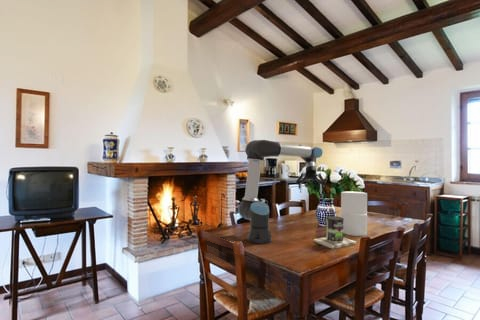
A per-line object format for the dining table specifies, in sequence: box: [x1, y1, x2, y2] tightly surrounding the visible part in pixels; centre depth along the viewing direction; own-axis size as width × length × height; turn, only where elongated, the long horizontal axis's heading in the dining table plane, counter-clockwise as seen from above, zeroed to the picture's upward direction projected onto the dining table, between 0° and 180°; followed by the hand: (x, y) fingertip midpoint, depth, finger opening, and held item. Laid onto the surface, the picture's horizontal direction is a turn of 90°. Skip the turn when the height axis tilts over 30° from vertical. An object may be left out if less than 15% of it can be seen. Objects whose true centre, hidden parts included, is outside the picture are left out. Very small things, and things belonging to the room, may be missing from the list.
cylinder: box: [340, 190, 368, 237], centre depth 207 cm, size 17×17×28 cm
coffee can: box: [325, 215, 344, 243], centre depth 182 cm, size 10×10×14 cm
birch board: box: [313, 236, 357, 250], centre depth 182 cm, size 20×16×2 cm
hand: (310, 192), depth 200 cm, fingers open, 13 cm apart
